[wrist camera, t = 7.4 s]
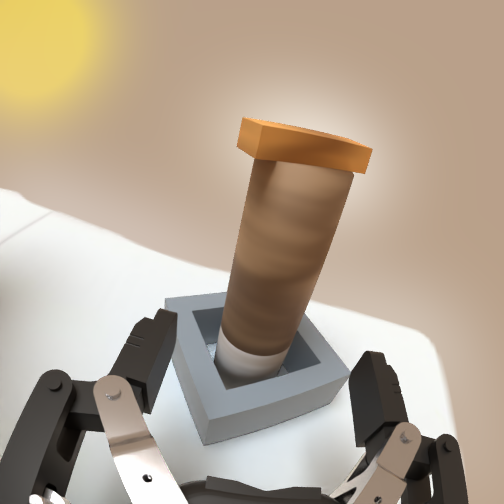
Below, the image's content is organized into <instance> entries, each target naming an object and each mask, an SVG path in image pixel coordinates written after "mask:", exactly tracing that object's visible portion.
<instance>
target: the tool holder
mask: <svg viewBox="0 0 504 504" xmlns="http://www.w3.org/2000/svg"><path fill="white" fill-rule="evenodd" d="M226 295H227V292H221V293H212V294H203V295H194V296H184V297H174V298H165V310H168V311H172V312H176V313H177V314H178V320H177V338H176V344H175V348H174V352H173V354H172V357H171V358H172V362H173V365H174V368H175V371H176V374H177V377H178V380H179V382H180V385H181V388H182V391H183V394H184V397H185V399H186V402H187V405H188V407H189V410H190V413H191V415H192V418H193V421H194V423H195V426H196V428H197V431H198V433H199V436H200V438H201V440H202V443H203V445H208V444H212V443H216V442H220V441H224V440H227V439H231V438H235V437H238V436H242V435H245V434H248V433H251V432H255V431H258V430H261V429H264V428H267V427H270V426H273V425H276V424H279V423H282V422H284V421H287V420H290V419H292V418H295V417H298V416H300V415H303V414H305V413H308V412H311V411H313V410H315V409H318V408H320V407H323V406H325V405H327V404H330V402H331V401H332V400H333V398H334V397H335V396H336V394H337V393H338V392H339V390H340V389H341V388H342V386H343V385H344V383H345V382H346V381H347V379H348V378H349V376H350V374H351V372H350V370H349V369H348V368H347V367H346V365H345V364H344V363H343V362H342V360H341V359H340V358H339V356H338V355H337V354H336V353H335V351H334V350H333V349H332V348H331V346H330V345H329V344H328V342H327V341H326V340H325V339H324V337H323V336H322V335H321V333H320V332H319V331H318V330H317V328H316V327H315V326H314V325H313V323H312V322H311V321H310V319H309V318H308V317H307V316H306V314H305V313H304V315H303V317H302V320H301V322H300V324H299V327H298V329H297V331H296V334H295V336H294V338H293V341H292V343H291V345H290V348H289V350H288V352H287V354H286V357H285V359H284V361H283V363H282V364H283V365H284V367H285V368H286V370H287V371H288V373H289V374H285V375H282V376H279V377H275V378H272V379H268V380H264V381H261V382H257V383H253V384H249V385H245V386H241V387H237V388H233V389H229V390H226V389H225V387H224V384H223V382H222V380H221V378H220V376H219V374H218V371H217V369H216V367H215V365H214V362H213V360H212V358H211V356H210V353H209V351H208V349H207V346H206V344H211V343H217V342H218V336H219V331H220V326H221V321H222V315H223V310H224V305H225V300H226Z"/></svg>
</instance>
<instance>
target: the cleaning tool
mask: <svg viewBox="0 0 504 504" xmlns="http://www.w3.org/2000/svg"><path fill="white" fill-rule="evenodd" d="M237 147H238V148H239V149H241V150H243V151H244V152H246V153H247V154H249V155H250V156H252V157H253V158H255V159H254V164H253V168H252V173H251V178H250V182H249V187H248V191H247V196H246V201H245V206H244V211H243V216H242V220H241V225H240V230H239V235H238V240H237V245H236V250H235V255H234V259H233V264H232V270H231V274H230V280H229V285H228V290H227V295H226V300H225V305H224V310H223V315H222V321H221V326H220V331H219V336H218V342H217V347H216V352H215V358H214V365H215V367H216V369H217V371H218V374H219V376H220V378H221V380H222V382H223V384H224V387H225V389H226V390H229V389H233V388H237V387H241V386H245V385H249V384H253V383H257V382H261V381H264V380H268V379H272V378H275V377H277V374H278V372H279V370H280V368H281V366H282V363H283V361H284V359H285V357H286V354H287V352H288V350H289V348H290V345H291V343H292V341H293V338H294V336H295V334H296V331H297V329H298V327H299V324H300V322H301V320H302V317H303V315H304V312H305V310H306V307H307V305H308V303H309V300H310V297H311V295H312V293H313V290H314V287H315V285H316V282H317V280H318V277H319V275H320V272H321V269H322V267H323V264H324V261H325V259H326V256H327V253H328V251H329V248H330V245H331V242H332V240H333V237H334V234H335V231H336V228H337V225H338V223H339V220H340V217H341V214H342V211H343V208H344V205H345V202H346V199H347V196H348V193H349V190H350V187H351V184H352V180H353V177H354V174H353V172H357V173H363V174H365V172H366V169H367V166H368V163H369V159H370V156H371V153H372V149H371V148H369V147H367V146H365V145H362V144H360V143H357V142H355V141H353V140H350V139H348V138H344V137H340V136H336V135H332V134H328V133H324V132H319V131H314V130H310V129H306V128H301V127H296V126H291V125H285V124H280V123H274V122H269V121H263V120H257V119H251V118H242V123H241V128H240V133H239V138H238V143H237Z"/></svg>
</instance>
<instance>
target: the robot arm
mask: <svg viewBox="0 0 504 504" xmlns="http://www.w3.org/2000/svg"><path fill="white" fill-rule="evenodd" d="M177 320H178V314H177V313H176V312H172V311H168V310H165V309H161V308H160V309H159V310H158V311H157V313H156V315H155V317H154V319H150V318H146V317H144V318H143V319H142V320H140V321H139V322H138V323H136V324H135V326H134V328H133V330H132V331H131V333H130V336H129V337H128V339H127V341H126V344H124V346H123V348H122V350H121V352H120V354H119V356H118V358H117V360H116V361H115V363H114V365H113V367H112V369H111V371H110V373H109V374H108V375H107V376H104V377H102V378H101V379H99V380H98V381H92V382H88V381H77V380H71V378H70V377H69V375H68V374H67V373H65V372H64V371H61V370H49V371H47V372H45V373H44V374H43V375H42V376H41V377H40V379H39V380H38V382H37V384H36V386H35V388H34V390H33V392H32V394H31V396H30V398H29V400H28V401H27V403H26V405H25V408H24V410H23V412H22V414H21V416H20V418H19V420H18V422H17V424H16V426H15V429H14V431H13V433H12V435H11V438H10V440H9V442H8V445H7V447H6V449H5V452H4V454H3V457H2V459H1V462H0V504H71V503H70V502H69V501H68V500H67V499H65V494H66V491H67V487H68V484H69V481H70V478H71V474H72V471H73V468H74V465H75V462H76V459H77V456H78V453H79V450H80V447H81V445H82V442H83V439H84V436H85V433H86V431H96V432H105V433H106V436H107V439H108V442H109V447H110V450H111V453H112V456H113V459H114V461H115V464H116V466H117V469H118V471H119V474H120V476H121V478H122V481H123V483H124V485H125V487H126V490H127V492H128V494H129V496H130V498H131V500H132V502H133V504H397V502H398V500H399V499H400V497H401V504H468V496H467V489H466V482H465V476H464V470H463V464H462V459H461V454H460V449H459V445H458V442H457V440H456V439H455V438H454V437H453V436H451V435H449V434H442V435H441V436H439V437H438V438H437V439H433V438H429V437H426V436H422V435H421V434H420V431H419V430H418V428H417V427H416V426H415V425H413V424H411V423H409V421H408V417H407V412H406V408H405V404H404V400H403V396H402V394H401V389H400V386H399V381H398V378H397V374H396V373H395V371H394V370H393V368H392V367H391V365H387V363H386V360H385V356H384V354H383V353H381V352H373V351H366V352H364V354H363V355H362V357H361V358H360V360H359V361H358V363H357V364H356V366H355V367H354V369H353V370H352V372H351V374H350V376H349V391H350V399H351V406H352V414H353V422H354V431H355V441H356V447H365V448H366V452H365V453H364V454H363V455H362V456H361V458H360V459H359V461H358V462H357V464H356V465H355V466H354V468H353V469H352V471H351V472H350V473H349V475H348V476H347V477H346V479H345V480H344V481H343V483H342V484H341V485H340V486H339V487H338V488H337V489H336V490H334V491H333V492H332V493H331V494H330V495H329V496H327V495H324V494H321V488H316V487H291V488H285V489H279V490H272V491H263V490H260V489H257V488H254V487H252V486H249V485H246V484H243V483H241V482H238V481H234V480H228V479H222V478H217V477H212V476H207V479H206V481H192V482H188V483H184V484H181V485H179V486H178V485H177V483H176V481H175V479H174V477H173V476H172V474H171V472H170V470H169V468H168V466H167V464H166V462H165V460H164V458H163V456H162V454H161V452H160V450H159V448H158V446H157V444H156V442H155V440H154V438H153V436H152V435H151V434H150V432H149V430H148V428H147V425H146V423H145V421H144V418H143V416H142V415H143V412H144V413H147V414H151V412H152V409H153V406H154V403H155V400H156V398H157V395H158V392H159V389H160V387H161V384H162V381H163V378H164V376H165V373H166V370H167V368H168V365H169V362H170V360H171V357H172V354H173V352H174V348H175V344H176V338H177ZM431 474H432V480H433V489H434V493H433V497H432V498H431V488H430V479H429V475H431Z"/></svg>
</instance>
